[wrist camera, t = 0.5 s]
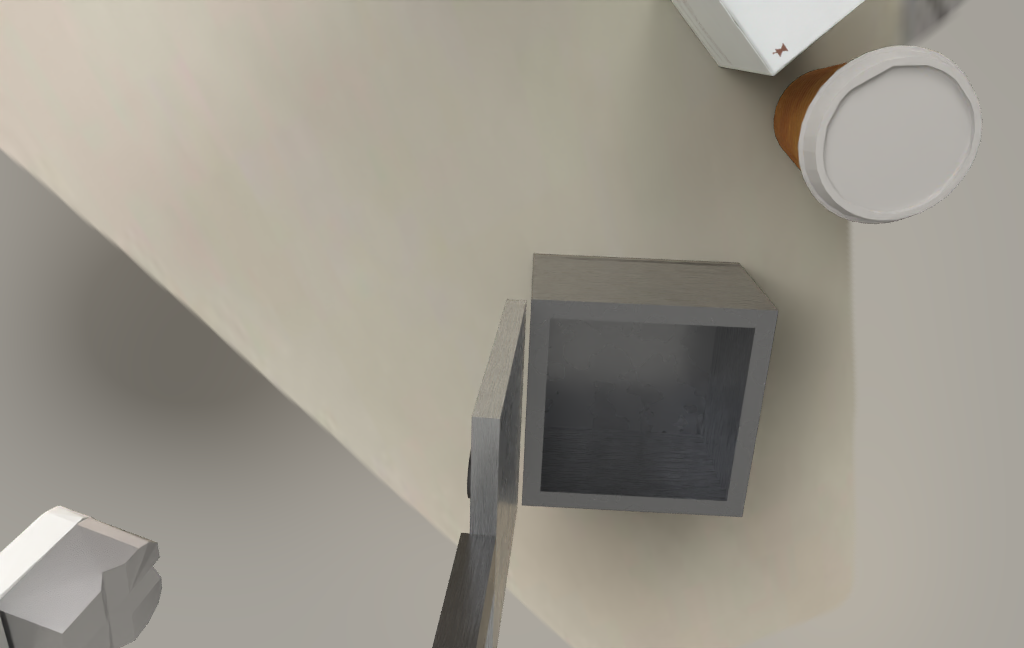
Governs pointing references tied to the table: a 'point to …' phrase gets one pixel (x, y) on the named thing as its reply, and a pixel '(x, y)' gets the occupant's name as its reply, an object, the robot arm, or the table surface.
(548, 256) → the open gray square box
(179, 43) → the table surface
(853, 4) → the supplement box
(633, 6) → the table surface
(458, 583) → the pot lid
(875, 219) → the disposable coffee cup
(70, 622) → the robot arm
